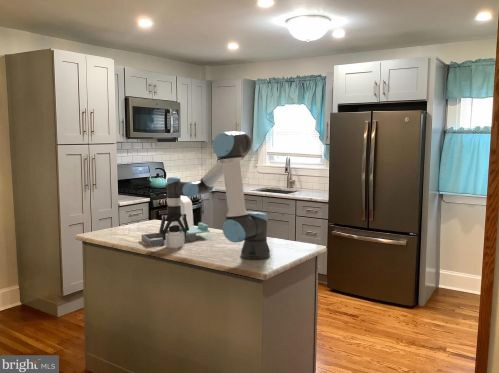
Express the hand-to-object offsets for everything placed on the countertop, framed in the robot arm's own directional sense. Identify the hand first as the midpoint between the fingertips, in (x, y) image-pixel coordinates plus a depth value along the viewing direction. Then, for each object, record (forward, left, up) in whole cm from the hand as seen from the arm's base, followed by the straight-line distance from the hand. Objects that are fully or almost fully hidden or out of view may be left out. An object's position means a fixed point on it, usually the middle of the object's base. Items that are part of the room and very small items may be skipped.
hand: (174, 244), depth 254 cm
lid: (+14, -19, +3) cm, 24 cm away
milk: (+34, -18, -1) cm, 38 cm away
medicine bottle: (0, 0, -1) cm, 1 cm away
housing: (+14, -2, -1) cm, 14 cm away
